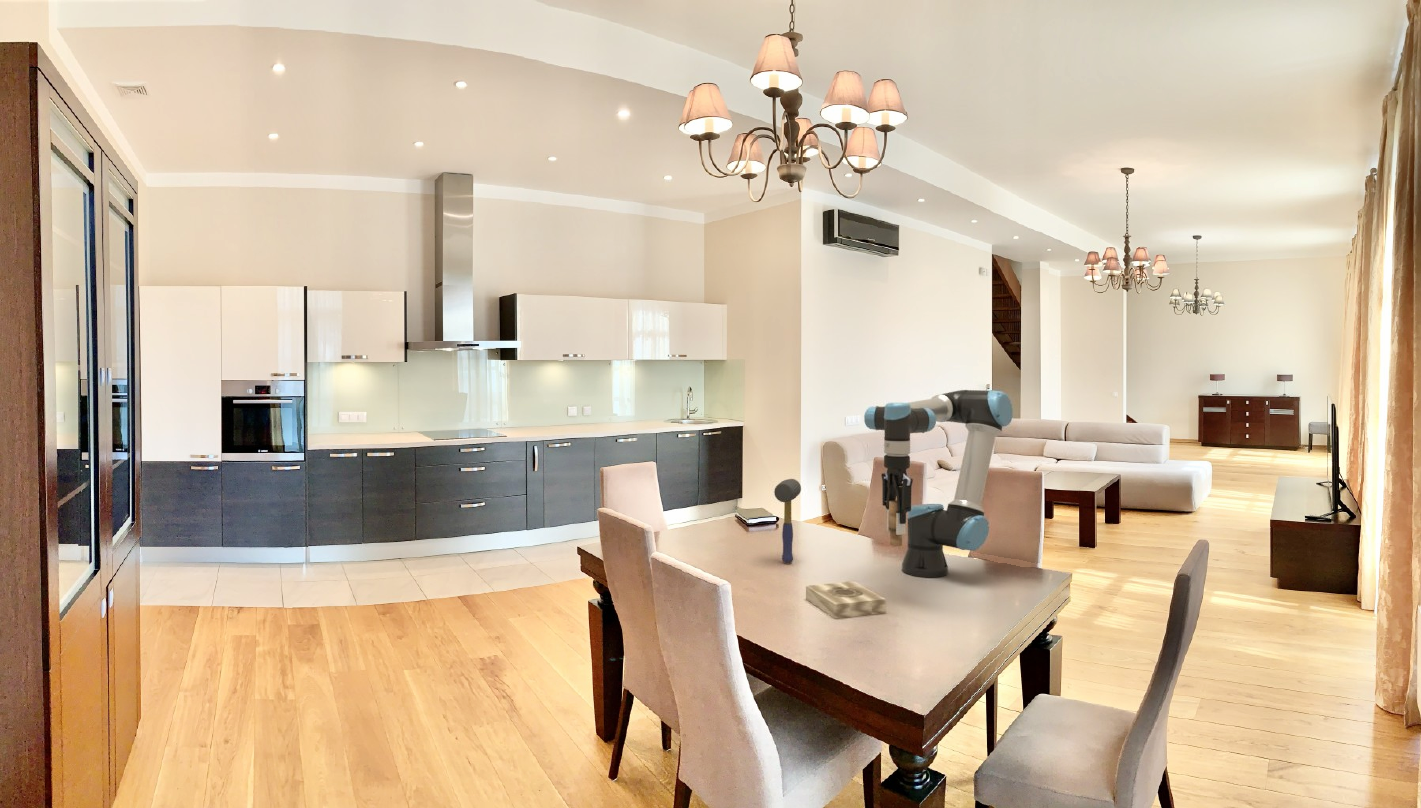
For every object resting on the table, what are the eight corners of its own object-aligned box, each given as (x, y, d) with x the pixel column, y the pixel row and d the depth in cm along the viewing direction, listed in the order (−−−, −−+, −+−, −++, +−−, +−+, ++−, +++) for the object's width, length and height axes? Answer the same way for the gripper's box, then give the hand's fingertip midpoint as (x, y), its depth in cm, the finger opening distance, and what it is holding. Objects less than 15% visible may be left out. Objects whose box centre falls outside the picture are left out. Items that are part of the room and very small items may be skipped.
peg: (898, 542, 230) (898, 499, 229) (906, 545, 226) (906, 502, 225) (885, 543, 229) (885, 500, 228) (893, 546, 225) (893, 503, 224)
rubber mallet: (793, 568, 264) (793, 482, 263) (772, 566, 267) (772, 481, 266) (802, 560, 276) (802, 478, 275) (782, 558, 279) (782, 476, 277)
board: (853, 594, 234) (853, 581, 234) (885, 612, 216) (885, 598, 216) (805, 598, 229) (805, 585, 229) (835, 618, 211) (835, 604, 211)
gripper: (870, 452, 233) (870, 527, 234) (902, 458, 217) (901, 539, 218) (892, 451, 235) (891, 525, 237) (924, 457, 219) (923, 537, 220)
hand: (896, 532), depth 227 cm, fingers closed on peg, 4 cm apart
